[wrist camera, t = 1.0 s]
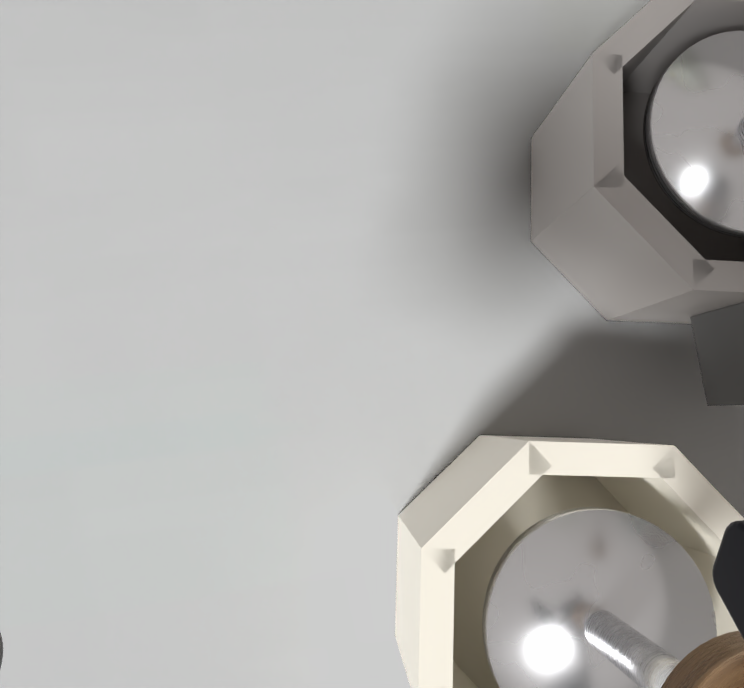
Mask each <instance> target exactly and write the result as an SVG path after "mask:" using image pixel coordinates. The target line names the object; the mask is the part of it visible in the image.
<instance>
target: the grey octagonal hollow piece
mask: <svg viewBox="0 0 744 688" xmlns="http://www.w3.org/2000/svg"><path fill="white" fill-rule="evenodd" d="M738 30H740V31H744V0H651V1H650V2H648V3H647V4H646V5H645V6H644V7H643V8H642V9H641V10H640V11H638V12H637V13H636V14H635V15H634V16H633V17H632V18H631V19H630V20H629V21H627V22H626V23H625V24H624V25H623V26H622V27H621V28H620V29H619V30H617V31H616V32H615V33H614V34H613V35H612V36H611V37H610V38H609V39H607V40H606V41H605V42H604V43H603V44H602V45H601V46H600V47H599V48H597V49H596V50H595V51H594V52H593V53H592V54H591V56H590V57H589V59H588V60H587V61H586V63H585V64H584V66H583V67H582V68H581V70H580V71H579V73H578V74H577V75H576V77H575V78H574V79H573V81H572V82H571V84H570V85H569V86H568V88H567V89H566V91H565V92H564V93H563V95H562V96H561V97H560V99H559V100H558V102H557V103H556V104H555V106H554V107H553V109H552V110H551V111H550V113H549V114H548V116H547V117H546V118H545V120H544V121H543V122H542V124H541V125H540V127H539V128H538V129H537V131H536V132H535V134H534V135H533V136H532V138H531V242H532V243H533V244H534V245H535V246H536V247H537V248H538V249H539V251H540V252H541V253H542V254H543V255H544V256H545V257H546V258H547V259H548V260H549V261H550V262H551V263H552V264H553V265H554V266H555V267H556V268H557V269H558V270H559V271H560V272H561V273H562V275H563V276H564V277H565V278H566V279H567V280H568V281H569V282H570V283H571V284H572V285H573V286H574V287H575V288H576V289H577V290H578V291H579V292H580V293H581V294H582V295H583V296H584V298H585V299H586V300H587V301H588V302H589V303H590V304H591V305H592V306H593V307H594V308H595V309H596V310H597V311H598V312H599V313H600V314H601V315H602V316H603V317H604V318H605V319H606V320H607V321H630V322H654V323H678V324H692V329H693V334H694V339H695V344H696V349H697V354H698V359H699V364H700V370H701V375H702V380H703V385H704V390H705V395H706V400H707V405H708V406H713V405H744V238H742V237H733V236H729V235H725V234H721V233H718V232H716V231H713V230H711V229H708V228H706V227H704V226H702V225H701V224H699V223H697V222H695V221H694V220H692V219H691V218H689V217H688V216H687V215H685V214H684V213H683V212H682V211H681V210H680V209H678V208H677V207H676V206H675V205H674V204H673V203H672V202H671V200H670V199H669V198H668V197H667V196H666V195H665V193H664V192H663V190H662V189H661V187H660V186H659V184H658V183H657V181H656V179H655V177H654V175H653V173H652V171H651V168H650V165H649V162H648V160H647V156H646V152H645V147H644V139H643V120H644V114H645V109H646V105H647V102H648V99H649V96H650V93H651V91H652V89H653V87H654V85H655V83H656V82H657V81H658V79H659V78H660V76H661V75H662V73H663V72H664V71H665V70H666V69H667V68H668V67H669V66H670V65H671V64H672V63H673V62H674V61H675V60H676V59H677V58H678V57H679V56H680V55H681V54H682V53H683V52H684V51H685V50H687V49H688V48H689V47H690V46H692V45H694V44H696V43H697V42H699V41H701V40H703V39H705V38H708V37H710V36H712V35H716V34H720V33H724V32H730V31H738Z"/></svg>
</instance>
